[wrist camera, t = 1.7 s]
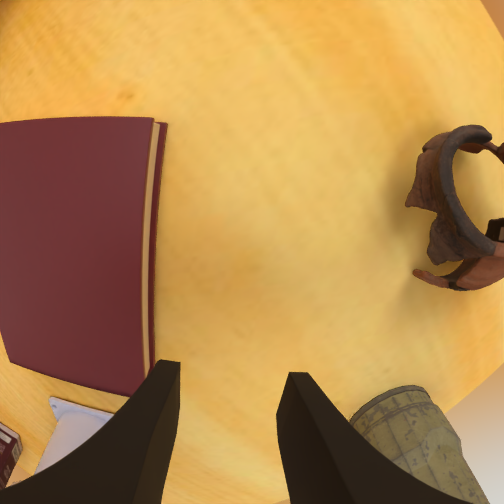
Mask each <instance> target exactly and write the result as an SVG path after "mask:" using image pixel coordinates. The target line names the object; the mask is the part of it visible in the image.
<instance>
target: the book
mask: <svg viewBox="0 0 504 504" xmlns="http://www.w3.org/2000/svg"><path fill="white" fill-rule="evenodd" d="M167 125H168V124H167V123H163V122H154V118H150V117H111V116H101V117H63V118H46V119H33V120H23V121H13V122H5V123H0V332H1V335H2V339H3V342H4V345H5V349H6V352H7V355H8V358H9V361H10V362H11V363H14V364H16V365H19V366H22V367H24V368H27V369H30V370H33V371H35V372H38V373H41V374H44V375H47V376H50V377H54V378H57V379H60V380H63V381H67V382H70V383H73V384H77V385H81V386H84V387H88V388H92V389H96V390H100V391H104V392H108V393H112V394H117V395H121V396H126V397H131V396H132V395H133V393H134V392H135V391H136V390H137V389H138V388H139V386H140V385H141V384H142V382H143V381H144V380H145V379H146V377H147V376H148V374H149V373H150V372H151V370H152V369H153V367H154V366H155V340H154V286H155V254H156V235H157V219H158V206H159V194H160V183H161V173H162V164H163V155H164V147H165V139H166V132H167Z"/></svg>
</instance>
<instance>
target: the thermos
mask: <svg viewBox="0 0 504 504" xmlns="http://www.w3.org/2000/svg"><path fill="white" fill-rule="evenodd" d="M349 423H350V424H351V425H352V426H353V427H354V428H355V429H356V430H357V431H358V432H359V433H360V434H361V435H362V436H363V437H364V438H365V439H366V440H367V441H368V442H369V443H370V444H371V445H372V446H373V447H374V448H376V449H377V450H378V451H379V452H380V453H382V454H383V455H384V456H385V457H387V458H388V459H389V460H390V461H392V462H393V463H394V464H396V465H397V466H399V467H400V468H401V469H403V470H404V471H406V472H407V473H409V474H411V475H412V476H414V477H415V478H417V479H419V480H420V481H422V482H424V483H426V484H427V485H429V486H431V487H433V488H435V489H437V490H439V491H442V492H444V493H446V494H448V495H450V496H453V497H456V498H458V499H461V500H464V501H467V502H470V503H473V504H490V503H489V501H488V499H487V498H486V496H485V494H484V492H483V490H482V489H481V487H480V485H479V483H478V482H477V480H476V478H475V476H474V475H473V473H472V471H471V469H470V468H469V466H468V464H467V463H466V461H465V459H464V458H463V456H462V448H461V441H460V438H459V437H458V435H457V434H456V432H455V431H454V429H453V428H452V426H451V424H450V423H449V421H448V420H447V418H446V417H445V415H444V414H443V412H442V411H441V410H440V408H439V407H438V406H437V405H435V404H434V403H433V402H432V401H431V399H430V396H429V395H428V393H427V392H426V391H425V390H424V388H422V387H419V386H415V385H411V386H402V387H399V388H395V389H392V390H389V391H387V392H385V393H383V394H381V395H379V396H377V397H375V398H374V399H373V400H371V401H370V402H368V403H367V404H366V405H364V406H363V407H362V408H361V409H360V410H359V411H358V412H357V413H356V414H355V415H354V416H353V417H352V419H351V420H350V422H349Z"/></svg>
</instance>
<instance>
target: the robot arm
mask: <svg viewBox="0 0 504 504" xmlns="http://www.w3.org/2000/svg"><path fill="white" fill-rule="evenodd" d="M180 363H181V362H175V361H168V360H162V359H161V360H159V361H157V363H156V364H155V366H154V367H153V369H152V370H151V372H150V373H149V374H148V376H147V377H146V379H145V380H144V381H143V382H142V384H141V385H140V386H139V388H138V389H137V390H136V391H135V392H134V393H133V395H132V396H131V397H130V398H129V399H128V400H127V402H126V403H125V404H124V405H123V406H122V407H121V408H120V409H119V410H118V411H117V412H116V413H115V414H112V413H108V412H104V411H100V410H96V409H92V408H88V407H85V406H81V405H78V404H75V403H71V402H68V401H65V400H62V399H59V398H56V397H50V398H49V403H50V405H51V408H52V410H53V413H54V415H55V418H56V420H57V422H58V423H57V426H56V428H55V430H54V432H53V434H52V436H51V438H50V440H49V442H48V444H47V446H46V448H45V451H44V453H43V455H42V457H41V459H40V462H39V464H38V466H37V468H36V471H35V473H34V475H33V476H31V477H29V478H27V479H25V480H23V481H19V482H13V483H12V485H11V486H9V487H6V488H4V489H1V490H0V504H161V500H162V494H163V489H164V484H165V480H166V476H167V472H168V467H169V463H170V459H171V455H172V451H173V446H174V442H175V438H176V434H177V426H178V418H179V411H180ZM276 420H277V435H278V444H279V449H280V454H281V459H282V464H283V468H284V473H285V478H286V483H287V487H288V492H289V497H290V503H291V504H473V503H470V502H467V501H464V500H461V499H458V498H456V497H453V496H450V495H448V494H446V493H444V492H442V491H439V490H437V489H435V488H433V487H431V486H429V485H427V484H426V483H424V482H422V481H420V480H419V479H417V478H415V477H414V476H412V475H411V474H409V473H407V472H406V471H404V470H403V469H401V468H400V467H399V466H397V465H396V464H394V463H393V462H392V461H390V460H389V459H388V458H387V457H385V456H384V455H383V454H382V453H380V452H379V451H378V450H377V449H376V448H374V447H373V446H372V445H371V444H370V443H369V442H368V441H367V440H366V439H365V438H364V437H363V436H362V435H361V434H360V433H359V432H358V431H357V430H356V429H355V428H354V427H353V426H352V425H351V424H350V423H349V422H348V421H347V420H346V418H345V417H344V416H343V415H342V414H341V413H340V412H339V411H338V409H337V408H336V407H335V406H334V405H333V403H332V402H331V401H330V400H329V398H328V397H327V396H326V395H325V394H324V392H323V391H322V390H321V388H320V387H319V386H318V385H317V383H316V382H315V381H314V380H313V378H312V377H311V376H310V375H309V373H307V372H289V374H288V377H287V381H286V384H285V387H284V391H283V394H282V397H281V400H280V404H279V407H278V410H277V413H276Z"/></svg>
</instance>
